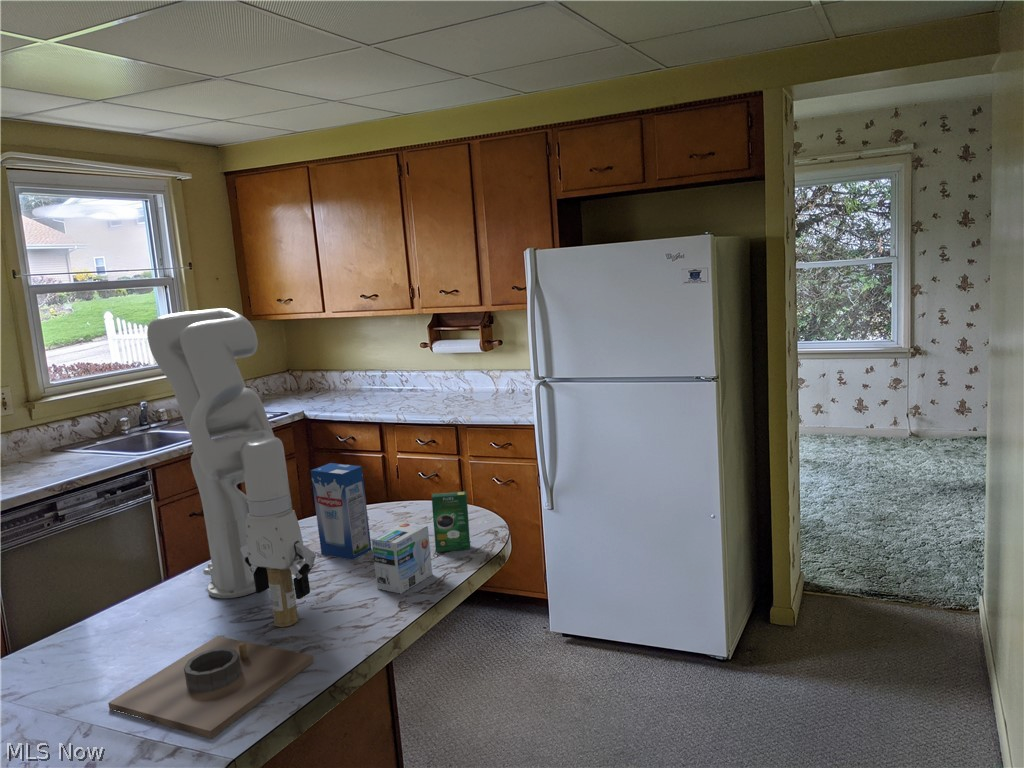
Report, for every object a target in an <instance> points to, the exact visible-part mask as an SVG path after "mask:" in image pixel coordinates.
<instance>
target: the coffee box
mask: <svg viewBox="0 0 1024 768" xmlns="http://www.w3.org/2000/svg"><path fill="white" fill-rule="evenodd" d="M431 506H432V507H431V508H432V517H433V518H432V521H433V531H434V543H435V553H441V552H443V553H445V552H453V551H464V550H470V549H471V538H470V522H469V510H468V494H467V491H466V490H465V491H454V492H453V491H452V492H441V493H439V492H438V493H431Z"/></svg>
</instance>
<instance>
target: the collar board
mask: <svg viewBox="0 0 1024 768" xmlns="http://www.w3.org/2000/svg"><path fill="white" fill-rule="evenodd" d="M313 663H314V656H313V654H308V653H305V652H298V651H294V650H289V649H284V648H279V647H275V646H268V645H265V644H259V643H256V642H255V643H254V642H250V641H249V642H248V641H245V640H241V639H240V640H239V639H235V638H229V637H225V636H221V635H217V636H214V638H212V639H210V640H208V641H206V642H205V643H203V644H202V645H201V646H198V647H197V648H196V649H194V650H192V651H191V652H189V653H187V654H186V655H184V656H182V657H180V658H179V659H177V660H176V661H174V662H172V663H171V664H169V665H168V666H166V667H164V668H162V669H161V670H160V671H158V672H156V673H155V674H152V675H151V676H149V677H148V678H146V679H145V680H143V681H141V682H140V683H138V684H137V685H135V686H133V687H132V688H129V690H127V691H125V692H124V693H122V694H120V695H118V696H117V697H115V698H113V699H112V700H110V701H109V702H108V708H109V710H110V709H112V710H116V711H120V712H124V713H127V714H130V715H134V716H138V717H141V718H144V719H146V720H145V721H147V720H150V721H149V722H151V721H152V722H151V723H154V722H156V723H155V724H158V723H159V724H158V725H161V724H163V725H162V726H165V725H166V726H165V727H168V726H169V727H168V728H172V729H176V730H180V731H183V732H186V733H190V734H192V735H193V734H194V735H197V736H201V737H203V736H204V738H208V739H213V738H215V737H216V736H217V735H219V734H220V733H221V732H222V731H224V730H225V729H227V728H228V727H229V726H231V725H232V724H233V723H235V722H236V721H237V720H239V719H240V718H241V717H242V716H244V715H245V714H247V713H248V712H249V711H251V710H252V709H253V708H255V707H256V706H257V705H258V704H260V703H261V702H262V701H263V700H265V699H266V698H268V697H269V696H271V694H273V693H274V692H275V691H277V690H278V689H280V688H281V687H282V686H284V684H286V683H288V681H290V680H292V678H294V677H295V676H297V675H298V674H300V672H302V671H304V670H305V669H306V668H307V667H308V666H310V665H311V664H313ZM112 710H111V711H112ZM116 711H115V712H116ZM130 715H129V716H130ZM144 719H143V720H144Z"/></svg>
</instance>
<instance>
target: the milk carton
mask: <svg viewBox="0 0 1024 768" xmlns="http://www.w3.org/2000/svg"><path fill="white" fill-rule="evenodd" d="M310 476H311V483H312V491H313V498H314V499H313V500H314V506H315V514H316V522H317V523H316V524H317V528H318V529H317V530H318V531H317V532H318V538H319V545H320V552H321V553H320V554H322V555H323V556H324V555H325V556H330V557H334V556H335V557H334V558H339V557H341V558H340V559H344V558H345V560H349V559H350V560H351V561H354V560H356V559H358V558H360V557H361V556H363V555H365V554H367V553H368V551H369V552H370V550H371V551H373V548H372V540H371V536H370V535H371V534H370V523H369V518H368V507H367V499H366V492H365V491H366V490H365V485H364V475H363V467H362V465H354V464H353V465H352V464H344V463H343V464H342V463H334V462H329V463H327V464H324V465H321V466H320V467H316V468H313V469H311V470H310ZM359 556H360V557H359ZM350 560H349V561H350Z"/></svg>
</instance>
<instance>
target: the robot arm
mask: <svg viewBox="0 0 1024 768" xmlns="http://www.w3.org/2000/svg"><path fill="white" fill-rule="evenodd" d="M146 335H147V342H148V347H149V349H150V352H151V354H152V357H153V359H154V361H155V363H156V364H157V365H158V368H159V369H160V371H161V372H162V373H163V375H165V377H166V379H167V380H168V382H169V384H170V385H171V387H172V390H173V393H174V396H175V399H176V402H177V404H178V409H179V412H180V413H181V417H182V419H183V422H184V425H185V427H186V429H187V432H188V434H189V437H190V442H191V445H192V448H193V453H192V454H191V456H190V467H191V470H192V474H193V477H194V480H195V482H196V485H197V489H198V492H199V496H200V500H201V506H202V510H203V516H204V523H205V528H206V536H207V542H208V549H209V555H210V556H209V557H210V560H211V561H210V562H209V563H208V564H207V567H205V568H204V569H203V575H205V576H210V578H211V579H210V581H211V582H209V584H208V585H207V594H208V595H209V596H210V597H213V598H217V599H233V598H239V597H243V596H248V595H250V594H253V593H256V594H261V593H262V592H264V591H267V590H269V580H268V573H267V569H266V568H271V569H280V570H286V569H288V568H289V569H290V570H291V573H292V575H294V578H293V579H292V580H293V585H294V592H295V598H296V600H301V599H303V598H304V597H306V596H307V595H309V594H310V593H311V588H310V586H311V585H310V581H309V574H310V573H311V570H312V569H313V567H314V565H315V564H314V563H315V560H316V557H317V556H316V555H317V554H316V553H315V552H314V551H312V550H311V549H310V548H309V547H306V546H305V545H304V542H303V535H302V531H301V528H300V524H299V520H298V518H297V515H296V511H295V510H294V509H293V503H292V497H291V491H290V484H289V478H288V470H287V462H286V455H285V449H284V444H283V442H282V440H281V439H280V438H279V437H276V436H275V434H274V430H273V429H272V426H271V423H270V419H269V417H268V415H267V412H266V409H265V406H264V405H263V402H262V400H261V398H260V396H259V395H258V394H257V392H256V391H254V390H253V389H252V388H247V387H245V380H244V378H243V376H242V373H241V371H240V369H239V366H238V364H237V362H236V360H237V359H242V358H249V357H251V356H253V355H254V354H256V351H257V350H258V343H259V341H258V337H257V332H256V330H255V327H254V326H253V324H252V323H251V322H250V321H249V319H247V317H245V316H243V315H242V314H240V313H238V312H236V311H233V310H232V309H229V308H225V307H220V308H217V307H216V308H209V309H208V308H207V309H202V310H201V309H200V310H192V311H191V310H189V311H181V312H174V313H173V312H172V313H167V314H165V315H161V316H157V317H156V318H154V319H153V320H152V321H150V322H149V324H148V326H147V331H146ZM240 483H244V486H245V493H246V494H245V493H244V492H243V491H242V490H241V489H239V488H238V487H237V485H239V484H240ZM297 565H298V566H299V568H300V569H299V568H298V566H297Z"/></svg>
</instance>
